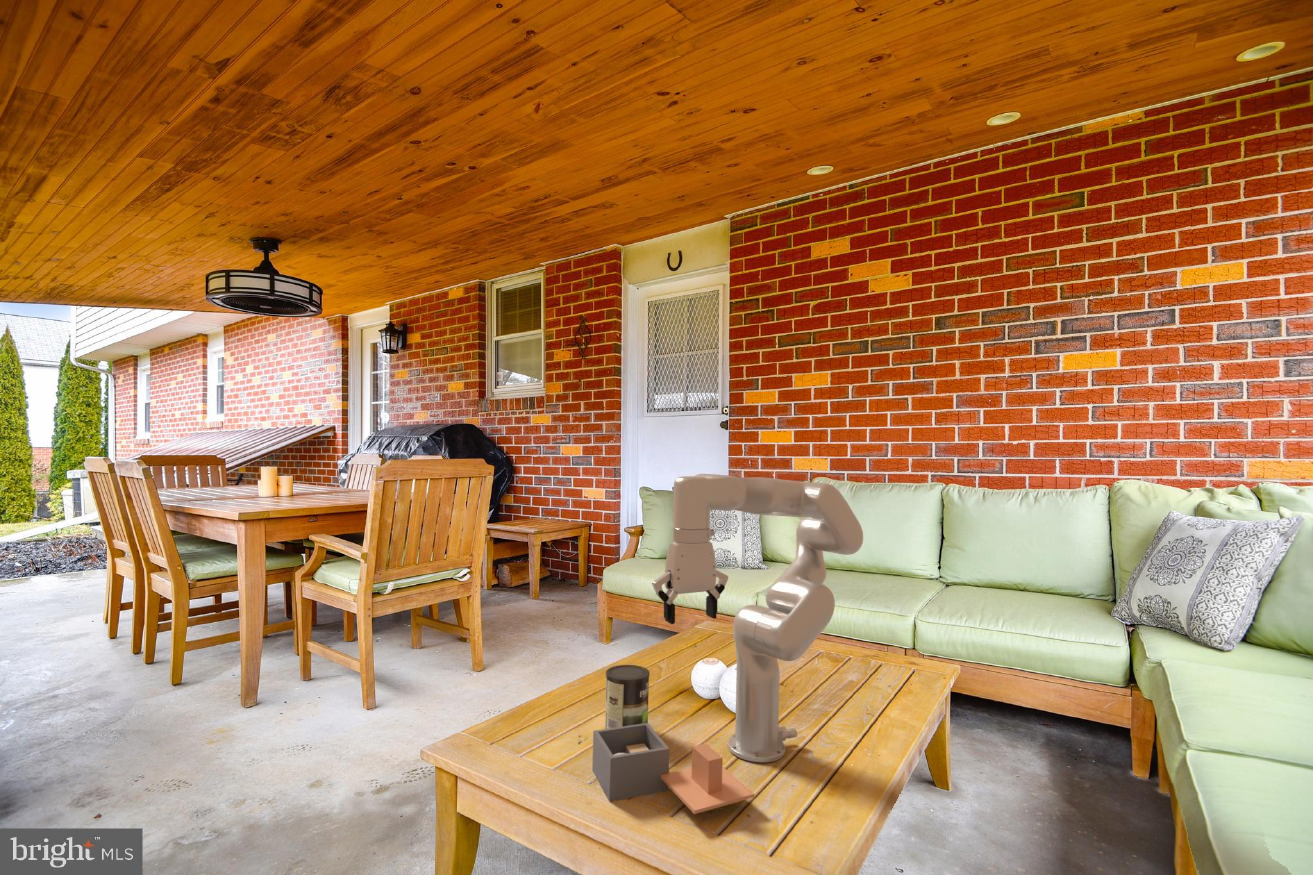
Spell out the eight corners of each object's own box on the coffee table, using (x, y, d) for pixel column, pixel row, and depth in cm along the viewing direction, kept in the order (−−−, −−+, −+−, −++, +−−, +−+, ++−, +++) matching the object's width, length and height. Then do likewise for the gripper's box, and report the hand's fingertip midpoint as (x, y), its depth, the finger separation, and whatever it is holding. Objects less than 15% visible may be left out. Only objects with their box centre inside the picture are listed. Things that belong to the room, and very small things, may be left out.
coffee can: (652, 725, 146) (653, 666, 146) (642, 745, 136) (644, 681, 136) (610, 720, 148) (612, 662, 148) (598, 739, 138) (600, 677, 138)
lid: (716, 768, 123) (717, 731, 123) (754, 801, 111) (755, 760, 111) (660, 782, 117) (661, 743, 117) (694, 818, 105) (695, 775, 106)
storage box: (646, 760, 129) (647, 722, 129) (668, 790, 118) (669, 748, 118) (592, 770, 124) (593, 730, 125) (609, 801, 113) (610, 758, 113)
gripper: (718, 531, 132) (717, 610, 131) (645, 536, 124) (645, 619, 124) (736, 536, 125) (736, 619, 125) (661, 541, 118) (661, 629, 117)
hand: (690, 619), depth 124 cm, fingers open, 9 cm apart
